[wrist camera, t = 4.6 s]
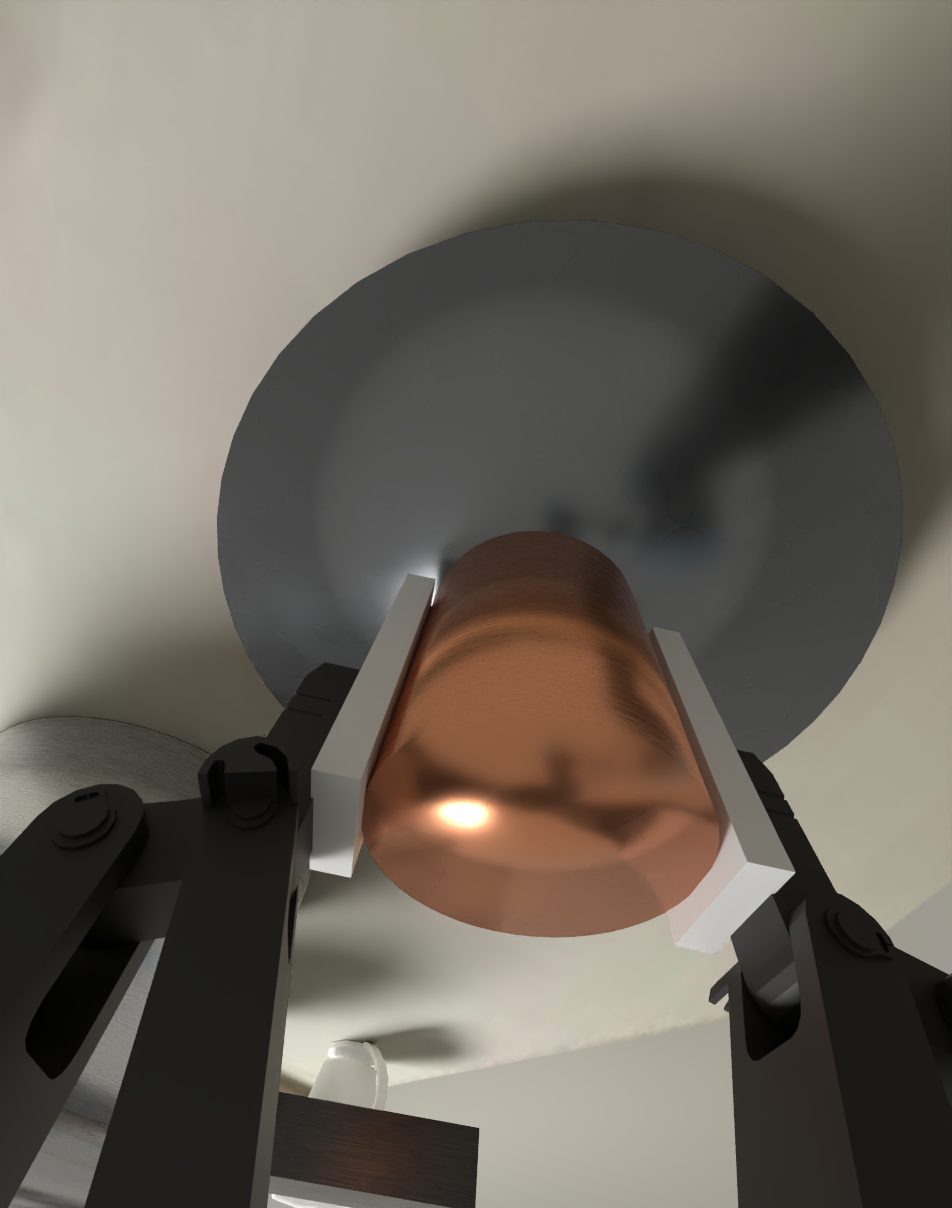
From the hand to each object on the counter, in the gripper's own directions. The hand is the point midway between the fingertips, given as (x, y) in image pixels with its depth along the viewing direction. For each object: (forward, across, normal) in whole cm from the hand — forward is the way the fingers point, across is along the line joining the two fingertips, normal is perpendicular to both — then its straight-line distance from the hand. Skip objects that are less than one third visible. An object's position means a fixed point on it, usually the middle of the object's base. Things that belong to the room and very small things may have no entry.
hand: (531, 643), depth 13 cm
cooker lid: (+2, 0, 0) cm, 2 cm away
